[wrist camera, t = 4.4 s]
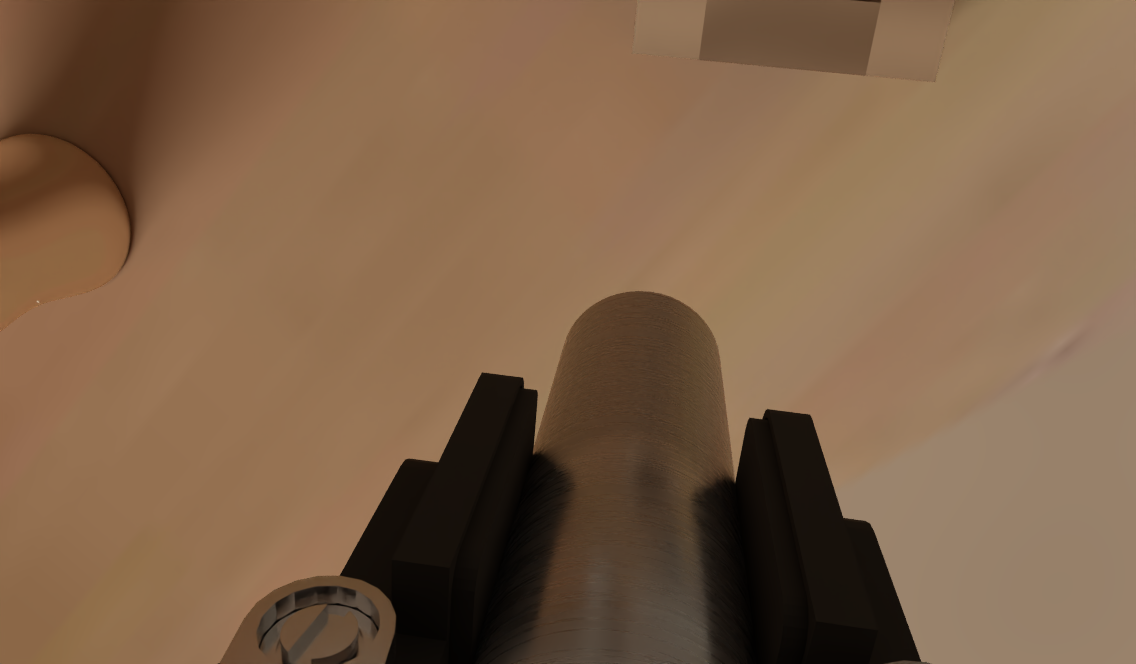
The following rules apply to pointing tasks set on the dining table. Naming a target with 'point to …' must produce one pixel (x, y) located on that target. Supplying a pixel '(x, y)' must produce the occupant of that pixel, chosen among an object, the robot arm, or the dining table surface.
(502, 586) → the steel pin
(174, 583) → the dining table surface
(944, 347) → the dining table surface
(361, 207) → the dining table surface
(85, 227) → the beer glass
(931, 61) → the walnut block
